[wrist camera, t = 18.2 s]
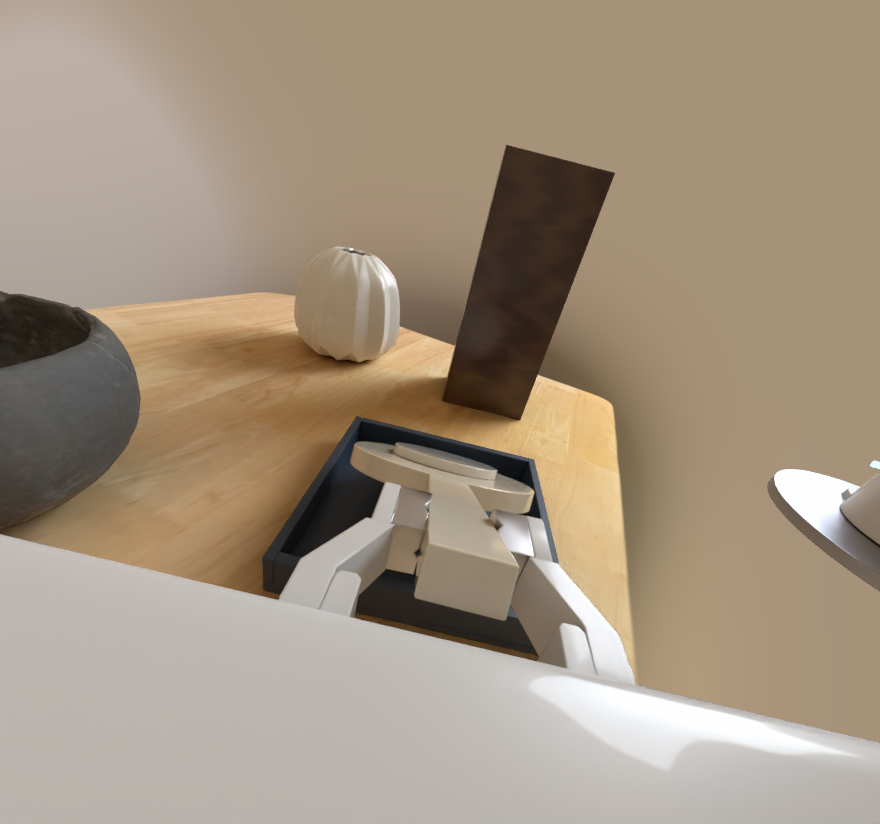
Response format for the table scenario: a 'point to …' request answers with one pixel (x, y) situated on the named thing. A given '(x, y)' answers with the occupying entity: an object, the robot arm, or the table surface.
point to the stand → (522, 277)
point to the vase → (347, 305)
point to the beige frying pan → (454, 523)
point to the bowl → (58, 404)
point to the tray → (354, 498)
